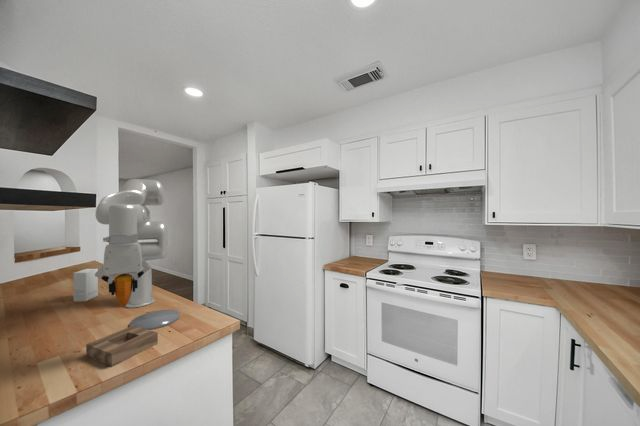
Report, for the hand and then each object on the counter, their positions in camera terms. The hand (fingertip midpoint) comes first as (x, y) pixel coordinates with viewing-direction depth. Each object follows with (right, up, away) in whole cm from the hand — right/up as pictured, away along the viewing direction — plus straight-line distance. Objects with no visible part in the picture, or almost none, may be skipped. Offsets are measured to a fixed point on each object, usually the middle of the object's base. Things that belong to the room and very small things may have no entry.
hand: (123, 291), depth 82 cm
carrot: (0, -6, 0) cm, 6 cm away
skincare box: (-59, -20, +47) cm, 79 cm away
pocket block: (0, -20, 0) cm, 20 cm away
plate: (-4, -20, +22) cm, 30 cm away
